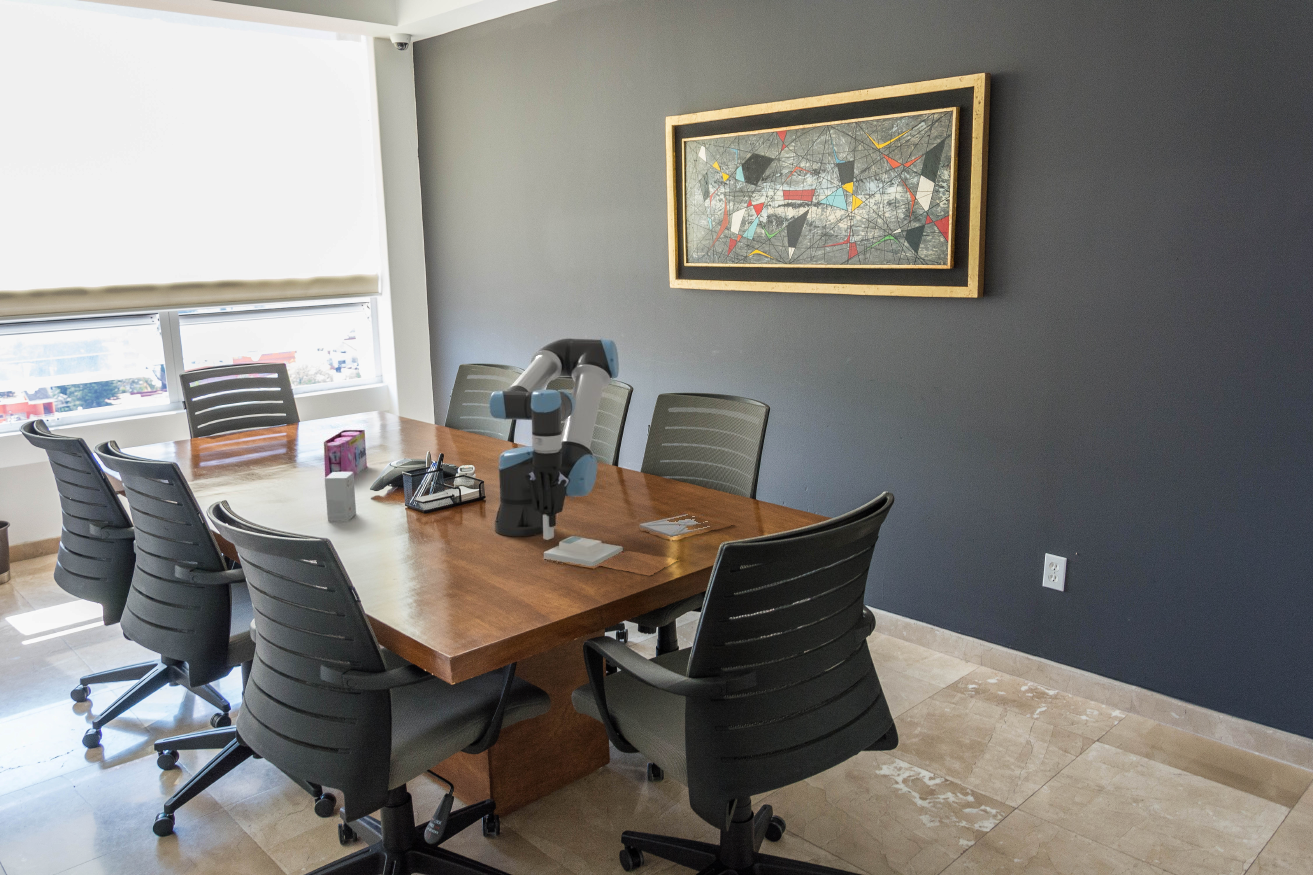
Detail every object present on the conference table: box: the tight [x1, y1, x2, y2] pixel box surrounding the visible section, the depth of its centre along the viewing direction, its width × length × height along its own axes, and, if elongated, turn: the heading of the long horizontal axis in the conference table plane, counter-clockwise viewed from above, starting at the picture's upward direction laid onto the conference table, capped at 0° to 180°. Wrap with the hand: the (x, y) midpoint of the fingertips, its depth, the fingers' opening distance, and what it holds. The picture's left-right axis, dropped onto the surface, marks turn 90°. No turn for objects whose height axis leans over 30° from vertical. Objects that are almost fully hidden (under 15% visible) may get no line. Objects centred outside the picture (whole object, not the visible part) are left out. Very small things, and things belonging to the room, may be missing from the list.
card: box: [558, 535, 602, 555], centre depth 249 cm, size 6×9×2 cm, turn 60°
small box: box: [324, 472, 357, 522], centre depth 283 cm, size 8×6×13 cm
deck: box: [543, 542, 624, 566], centre depth 249 cm, size 14×15×2 cm
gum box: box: [323, 429, 368, 479], centre depth 337 cm, size 24×8×14 cm, turn 0°
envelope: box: [638, 513, 710, 537], centre depth 275 cm, size 24×2×14 cm
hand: (548, 537), depth 254 cm, fingers closed
